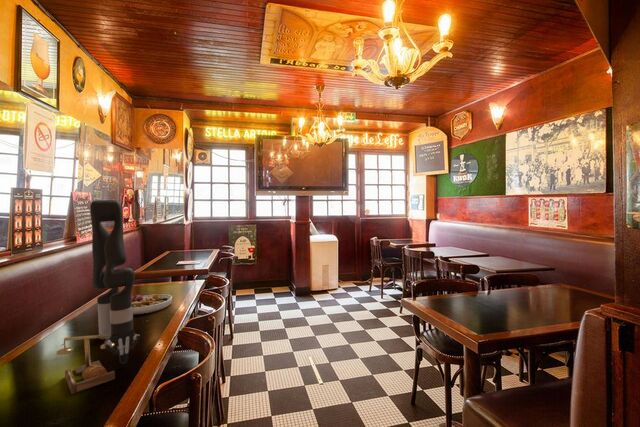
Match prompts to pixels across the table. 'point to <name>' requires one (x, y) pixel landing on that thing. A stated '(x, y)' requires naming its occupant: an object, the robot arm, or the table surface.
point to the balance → (80, 369)
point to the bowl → (149, 303)
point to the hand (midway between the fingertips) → (124, 362)
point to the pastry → (93, 371)
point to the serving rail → (87, 381)
